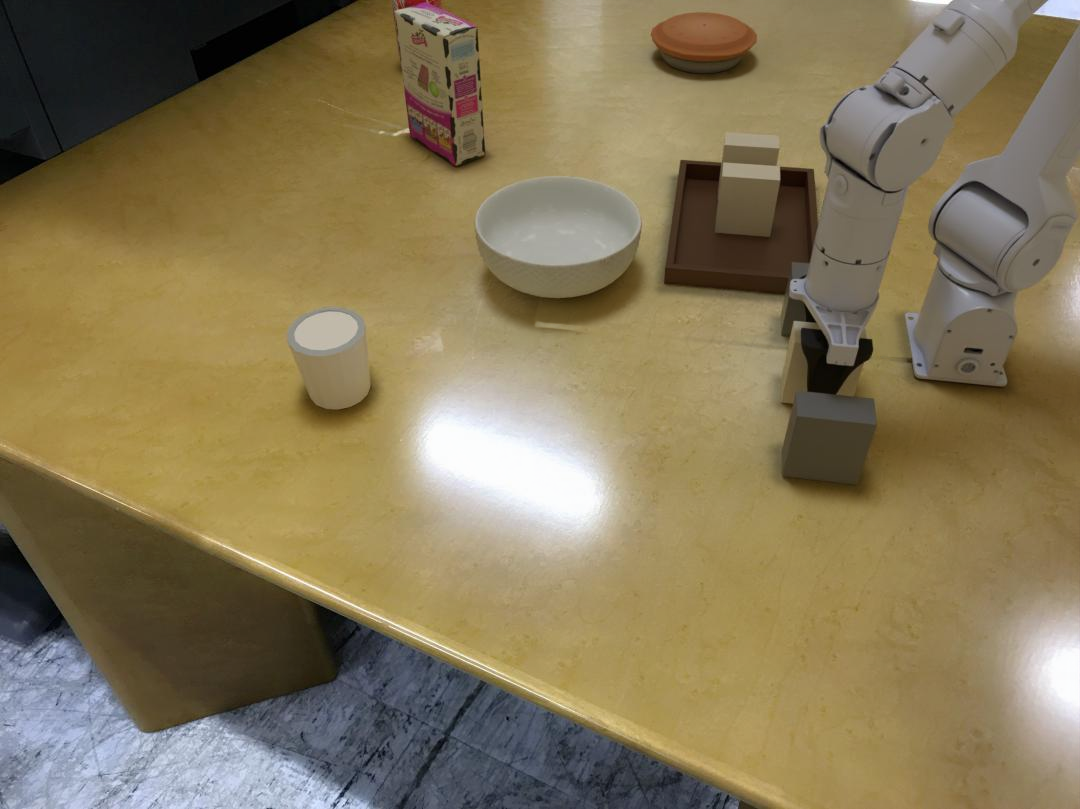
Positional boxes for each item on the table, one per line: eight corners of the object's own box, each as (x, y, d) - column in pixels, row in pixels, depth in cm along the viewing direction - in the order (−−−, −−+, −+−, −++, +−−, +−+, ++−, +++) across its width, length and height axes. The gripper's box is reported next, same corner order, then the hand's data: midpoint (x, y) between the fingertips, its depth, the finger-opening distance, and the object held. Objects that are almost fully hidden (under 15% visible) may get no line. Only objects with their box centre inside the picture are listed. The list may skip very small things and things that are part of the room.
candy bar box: (488, 155, 115) (480, 25, 103) (456, 168, 112) (444, 36, 101) (439, 125, 121) (426, -1, 110) (408, 136, 119) (391, 9, 108)
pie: (629, 51, 137) (631, 18, 134) (712, 31, 142) (716, -2, 139) (687, 89, 127) (691, 54, 124) (774, 65, 132) (780, 31, 129)
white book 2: (769, 237, 99) (780, 180, 94) (714, 232, 99) (722, 176, 95) (769, 222, 101) (780, 166, 96) (715, 218, 102) (723, 162, 97)
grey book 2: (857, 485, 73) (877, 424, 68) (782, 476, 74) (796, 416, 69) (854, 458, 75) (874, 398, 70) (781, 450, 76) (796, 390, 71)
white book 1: (769, 204, 104) (779, 148, 99) (717, 200, 104) (724, 144, 100) (769, 190, 106) (779, 135, 101) (718, 187, 107) (725, 132, 102)
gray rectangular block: (843, 345, 86) (860, 286, 81) (779, 339, 87) (792, 280, 82) (841, 326, 88) (857, 267, 83) (779, 320, 89) (791, 261, 84)
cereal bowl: (499, 336, 88) (495, 277, 83) (464, 245, 100) (459, 188, 95) (661, 305, 91) (666, 246, 86) (609, 220, 103) (611, 164, 98)
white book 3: (849, 410, 80) (868, 349, 75) (780, 402, 80) (794, 342, 76) (847, 387, 82) (865, 327, 77) (780, 380, 83) (793, 320, 78)
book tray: (817, 301, 91) (822, 280, 89) (663, 287, 93) (665, 267, 92) (809, 188, 107) (814, 168, 105) (678, 178, 109) (680, 159, 108)
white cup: (343, 354, 87) (330, 296, 82) (392, 384, 83) (381, 325, 78) (287, 393, 83) (269, 334, 78) (336, 425, 80) (321, 365, 75)
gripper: (798, 192, 76) (773, 319, 85) (801, 294, 66) (772, 425, 75) (885, 199, 75) (849, 326, 84) (902, 303, 65) (859, 435, 74)
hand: (818, 374), depth 79 cm, fingers open, 5 cm apart
